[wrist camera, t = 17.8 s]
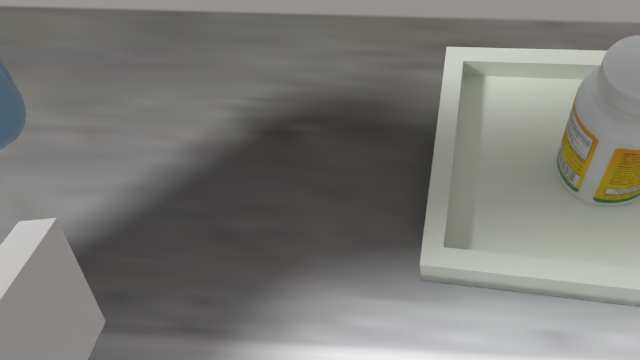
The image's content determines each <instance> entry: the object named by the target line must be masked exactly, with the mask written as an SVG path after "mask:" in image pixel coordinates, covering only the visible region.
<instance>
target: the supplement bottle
mask: <svg viewBox="0 0 640 360" xmlns="http://www.w3.org/2000/svg"><path fill="white" fill-rule="evenodd" d="M556 167H557V173H558V176H559V178H560V180H561V182H562V183H563V185H564V186H565V187H566V189H567V190H568V191H569V192H571V193H572V194H573V195H574V196H576V197H577V198H579V199H581V200H583V201H585V202H588V203H591V204H594V205H599V206H616V205H622V204H626V203H629V202H631V201H633V200H635V199H637V198H638V197H640V35H636V36H631V37H627V38H624V39H622V40H620V41H618V42H617V43H615V44H614V45H613V46H611V47H610V48H609V49H608V51H607V52H606V54H605V56H604V58H603V61H602V63H601V66H599V67H597V68H596V69H594V70H593V71H591V72H590V73H589V74H588V75H587V76H586V77H585V78H584V80H583V81H582V82H581V84H580V86H579V88H578V90H577V93H576V96H575V99H574V102H573V105H572V109H571V112H570V115H569V118H568V121H567V125H566V128H565V131H564V134H563V138H562V141H561V144H560V147H559V150H558V154H557V159H556Z"/></svg>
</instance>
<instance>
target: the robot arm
mask: <svg viewBox="0 0 640 360" xmlns="http://www.w3.org/2000/svg"><path fill="white" fill-rule="evenodd" d="M25 117H26V109H25V104H24V101H23V99H22V96H21V94H20V93H19V91H18V89H17V87H16V85H15V83H14V81H13V79H12V77H11V76H10V74H9V72H8V70H7V69H6V67H5V65H4V64H3V62H2V60H1V58H0V150H1V149H3V148H4V147H6V146H7V145H8V144H10V143H11V142H13V141H14V140H15V139H16V138H17V137H18V136H19V135H20V134H21V131H22V129H23V127H24V125H25ZM105 322H106V321H105V319H104V317H103V315H102V312H101V310H100V308H99V306H98V304H97V302H96V300H95V298H94V296H93V293H92V291H91V289H90V287H89V285H88V283H87V281H86V279H85V277H84V274H83V272H82V270H81V268H80V266H79V264H78V262H77V260H76V258H75V255H74V253H73V251H72V249H71V247H70V245H69V243H68V241H67V239H66V236H65V234H64V232H63V230H62V228H61V226H60V224H59V222H58V220H57V218H51V219H41V220H30V221H19V222H18V223H17V225H16V226H15V227H14V229H13V230H12V231H11V232H10V234H9V235H8V236H7V238H6V239H5V240H4V241H3V243H2V244H1V245H0V360H88V359H89V357H90V355H91V353H92V350H93V348H94V346H95V344H96V342H97V340H98V337H99V335H100V333H101V331H102V329H103V327H104V325H105Z"/></svg>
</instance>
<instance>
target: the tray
mask: <svg viewBox="0 0 640 360" xmlns="http://www.w3.org/2000/svg"><path fill="white" fill-rule="evenodd" d="M606 52H607V51H594V50H554V49H513V48H472V47H447V49H446V57H445V65H444V73H443V81H442V89H441V97H440V105H439V113H438V121H437V129H436V137H435V145H434V153H433V161H432V169H431V177H430V185H429V193H428V201H427V209H426V217H425V225H424V233H423V241H422V249H421V257H420V273H421V280H424V281H432V282H440V283H448V284H456V285H465V286H473V287H481V288H489V289H498V290H506V291H514V292H522V293H530V294H539V295H547V296H555V297H563V298H572V299H580V300H588V301H596V302H605V303H613V304H621V305H629V306H637V307H640V197H638V198H637V199H635V200H633V201H631V202H629V203H626V204H622V205H616V206H599V205H594V204H591V203H588V202H585V201H583V200H581V199H579V198H577V197H576V196H574V195H573V194H572V193H571V192H569V191H568V190H567V189H566V187H565V186H564V185H563V183H562V182H561V180H560V178H559V176H558V173H557V167H556V159H557V154H558V150H559V147H560V144H561V141H562V138H563V134H564V131H565V128H566V125H567V121H568V118H569V115H570V112H571V109H572V105H573V102H574V99H575V96H576V93H577V90H578V88H579V86H580V84H581V82H582V81H583V80H584V78H585V77H586V76H587V75H588V74H589V73H590V72H591V71H593V70H594V69H596V68H597V67H599V66H601V63H602V61H603V58H604V56H605V54H606Z"/></svg>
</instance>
